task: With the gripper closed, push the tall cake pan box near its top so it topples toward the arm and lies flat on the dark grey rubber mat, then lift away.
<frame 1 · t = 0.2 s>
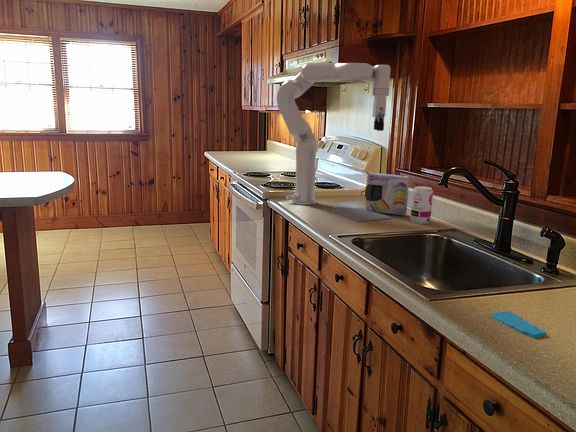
hand: (378, 130, 227), 37 cm above the worktop, tool pointing down, fingers open, 9 cm apart
sponge: (517, 327, 109), on the worktop
supplement can: (420, 222, 206), on the worktop
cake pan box: (384, 213, 222), on the worktop, touching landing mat
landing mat: (360, 215, 216), on the worktop
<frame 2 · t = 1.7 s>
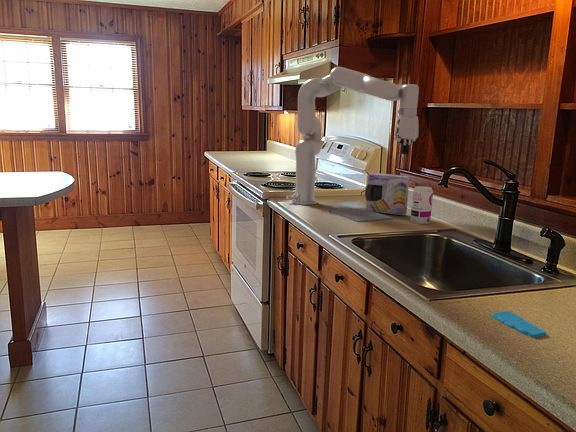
hand: (404, 153, 220), 27 cm above the worktop, tool pointing down, fingers closed
nothing on the worktop moved.
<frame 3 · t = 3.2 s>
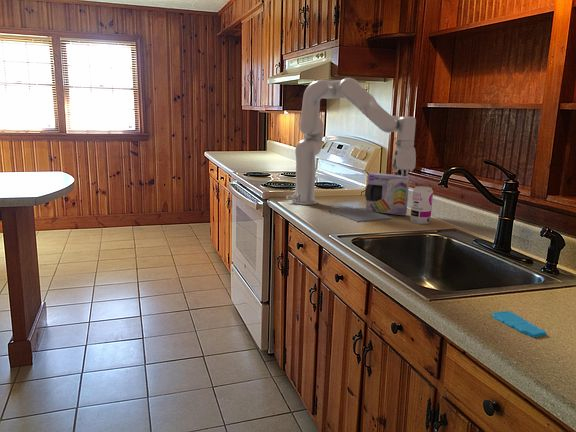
hand: (401, 184, 223), 13 cm above the worktop, tool pointing down, fingers closed
nothing on the worktop moved.
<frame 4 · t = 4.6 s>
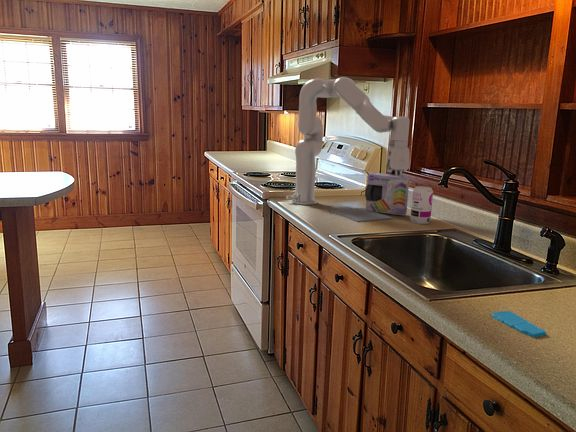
hand: (395, 184, 221), 13 cm above the worktop, tool pointing down, fingers closed
nothing on the worktop moved.
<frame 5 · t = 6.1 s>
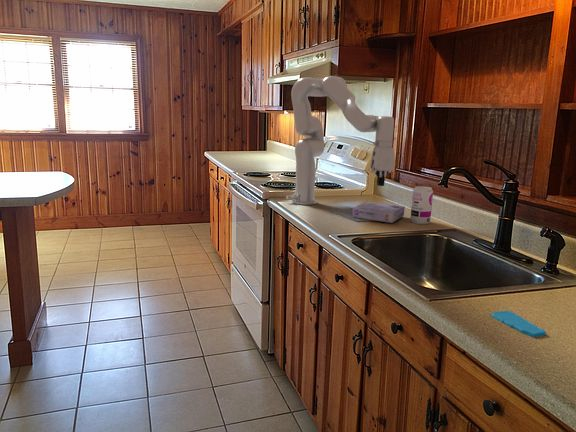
hand: (380, 185, 218), 13 cm above the worktop, tool pointing down, fingers closed
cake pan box: (383, 208, 220), point 2 cm above the worktop, touching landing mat
everything else where it was.
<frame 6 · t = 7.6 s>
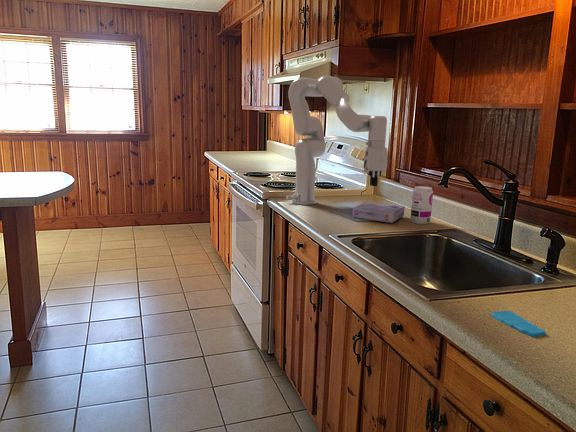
hand: (373, 185, 216), 13 cm above the worktop, tool pointing down, fingers closed
nothing on the worktop moved.
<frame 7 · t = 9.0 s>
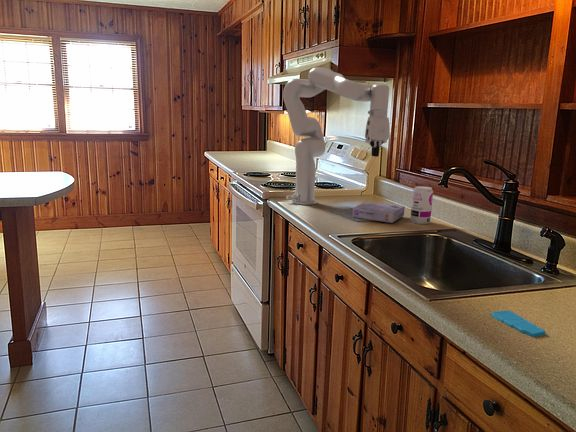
hand: (374, 156, 213), 26 cm above the worktop, tool pointing down, fingers closed
nothing on the worktop moved.
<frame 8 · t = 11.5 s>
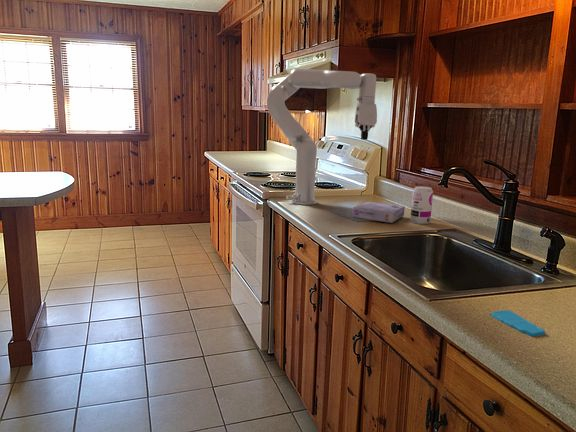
hand: (364, 139, 234), 32 cm above the worktop, tool pointing down, fingers closed
nothing on the worktop moved.
at the end: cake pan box tilted 88°; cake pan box inside the target area (2.1 cm from its centre), point 2.5 cm above the worktop; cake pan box touching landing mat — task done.
